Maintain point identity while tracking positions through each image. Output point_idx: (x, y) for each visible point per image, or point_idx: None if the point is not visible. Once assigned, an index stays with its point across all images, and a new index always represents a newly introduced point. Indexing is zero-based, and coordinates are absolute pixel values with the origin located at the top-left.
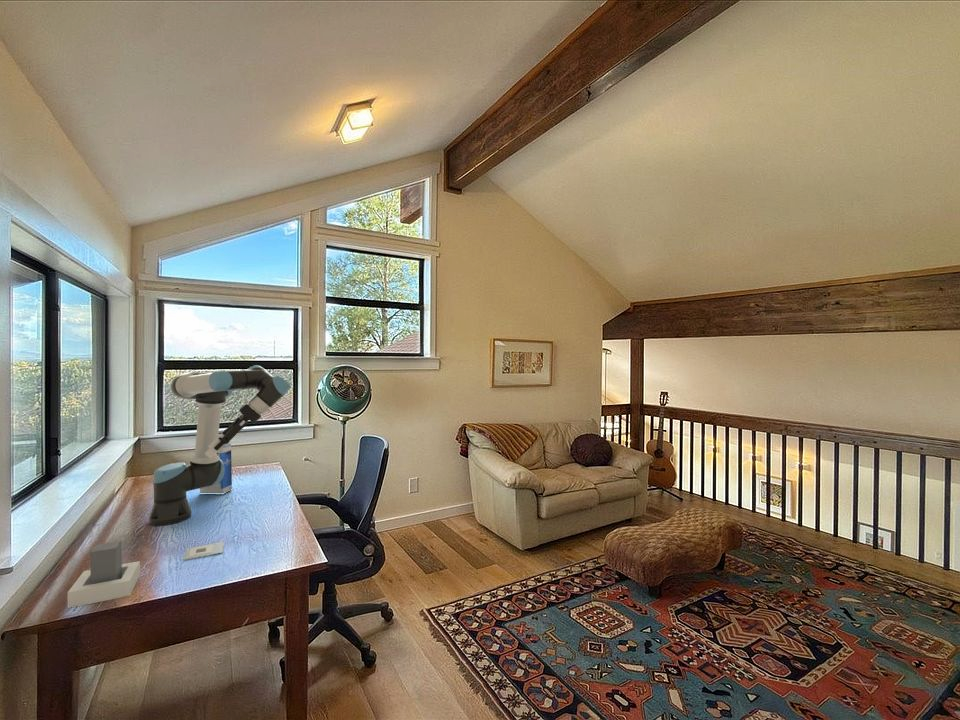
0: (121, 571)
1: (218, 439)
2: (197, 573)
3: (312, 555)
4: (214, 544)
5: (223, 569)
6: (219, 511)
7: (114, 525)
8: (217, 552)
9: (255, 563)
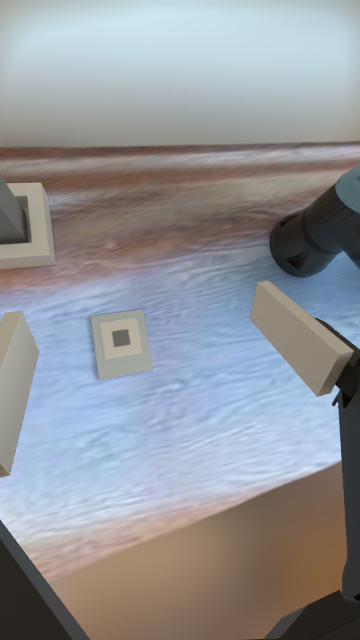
0: (21, 237)
1: (297, 335)
2: None
3: None
4: (144, 355)
5: None
6: None
7: (287, 173)
8: (101, 370)
9: (20, 459)
